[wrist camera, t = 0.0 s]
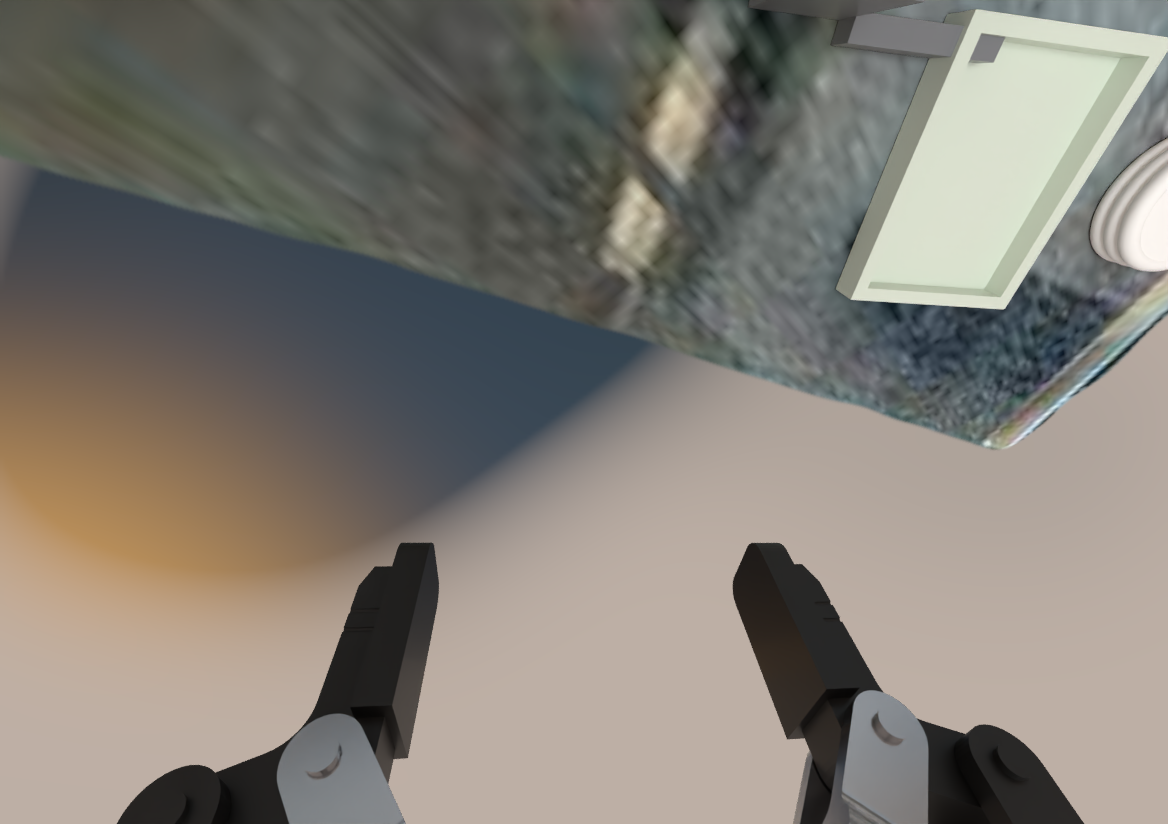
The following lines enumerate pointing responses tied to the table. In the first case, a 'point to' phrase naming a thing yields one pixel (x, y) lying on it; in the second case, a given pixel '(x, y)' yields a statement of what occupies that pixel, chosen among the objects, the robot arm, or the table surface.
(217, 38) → the table surface
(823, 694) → the robot arm
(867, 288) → the tray
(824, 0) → the dock
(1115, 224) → the white round puck
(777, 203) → the table surface
